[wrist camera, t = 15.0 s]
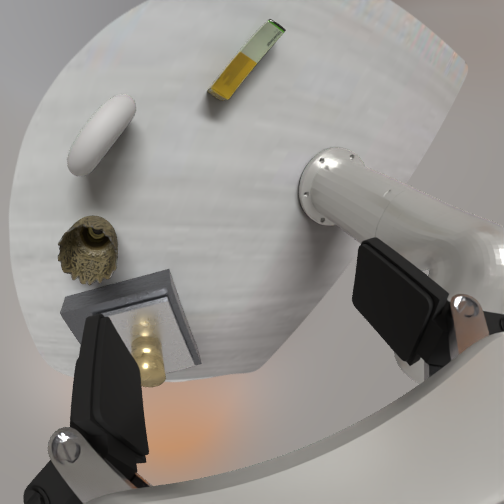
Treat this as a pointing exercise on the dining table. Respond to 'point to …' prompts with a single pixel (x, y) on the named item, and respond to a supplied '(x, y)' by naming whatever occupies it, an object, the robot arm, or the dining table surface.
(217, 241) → the dining table surface
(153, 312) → the scale pan
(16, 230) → the dining table surface
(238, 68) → the medication box
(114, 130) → the grey rounded slab
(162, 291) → the scale
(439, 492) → the robot arm
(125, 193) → the dining table surface
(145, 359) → the brass weight
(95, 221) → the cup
